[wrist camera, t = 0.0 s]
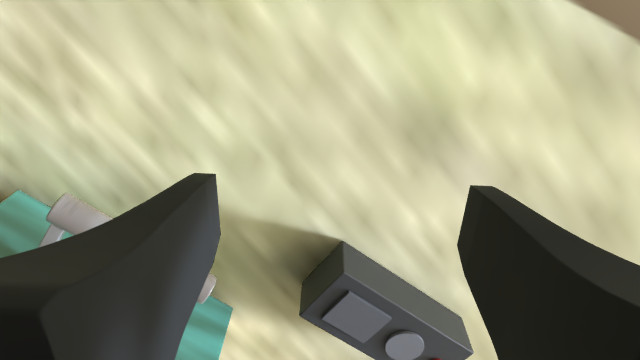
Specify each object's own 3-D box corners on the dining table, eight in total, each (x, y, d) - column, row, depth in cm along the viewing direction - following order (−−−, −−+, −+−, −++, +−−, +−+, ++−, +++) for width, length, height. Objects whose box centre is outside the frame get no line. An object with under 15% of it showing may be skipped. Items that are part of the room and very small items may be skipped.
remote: (342, 240, 25) (343, 274, 23) (462, 317, 28) (475, 356, 25) (301, 282, 27) (298, 319, 24) (418, 352, 29) (426, 392, 27)
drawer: (52, 118, 21) (-58, 185, 15) (279, 256, 25) (261, 354, 19) (-49, 324, 28) (-153, 426, 22) (141, 410, 32) (96, 519, 26)
